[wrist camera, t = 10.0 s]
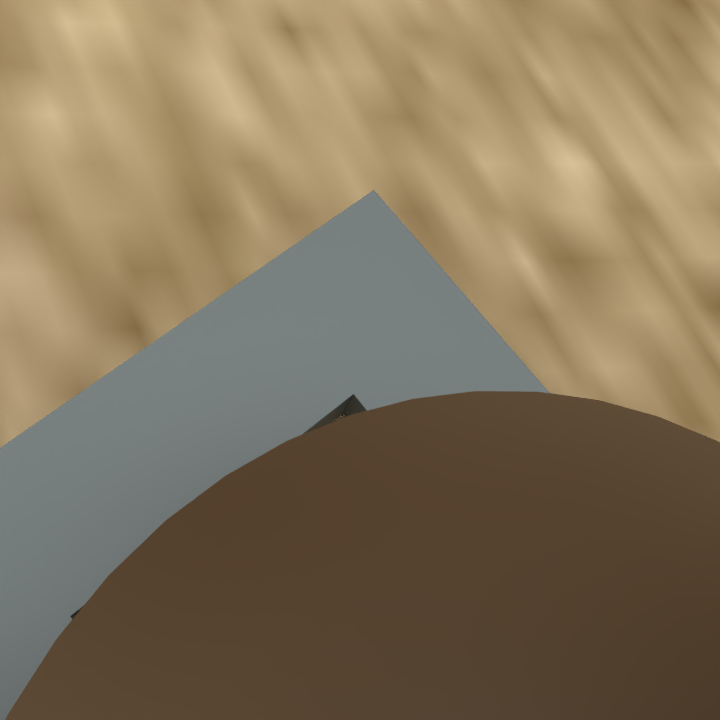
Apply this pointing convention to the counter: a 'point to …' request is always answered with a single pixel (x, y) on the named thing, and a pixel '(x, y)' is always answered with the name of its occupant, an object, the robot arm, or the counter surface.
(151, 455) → the frame
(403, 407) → the walnut peg
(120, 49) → the counter surface
